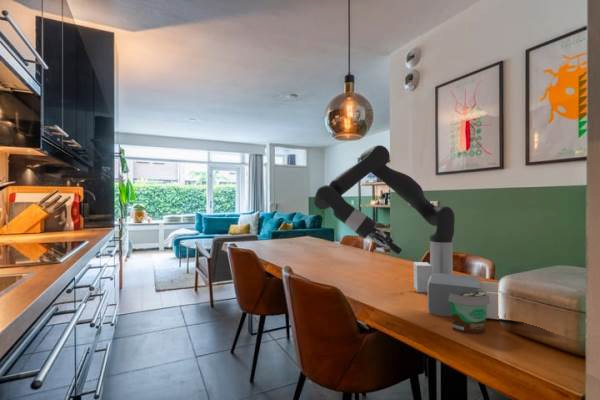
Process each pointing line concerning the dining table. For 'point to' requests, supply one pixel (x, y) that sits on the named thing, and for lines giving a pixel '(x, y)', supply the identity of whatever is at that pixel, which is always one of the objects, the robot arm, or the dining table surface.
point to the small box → (422, 275)
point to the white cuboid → (493, 296)
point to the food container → (469, 312)
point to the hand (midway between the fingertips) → (399, 252)
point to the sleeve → (448, 290)
